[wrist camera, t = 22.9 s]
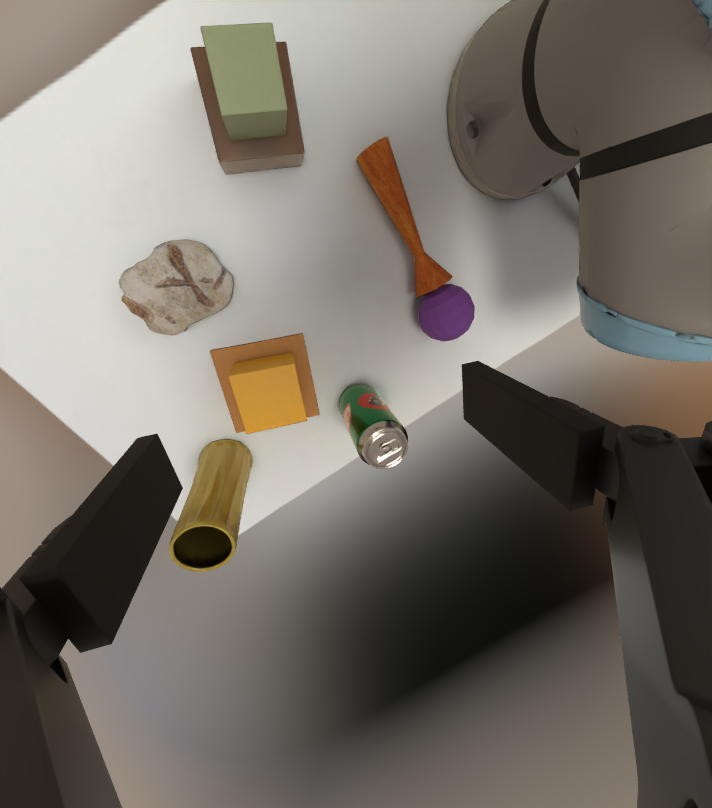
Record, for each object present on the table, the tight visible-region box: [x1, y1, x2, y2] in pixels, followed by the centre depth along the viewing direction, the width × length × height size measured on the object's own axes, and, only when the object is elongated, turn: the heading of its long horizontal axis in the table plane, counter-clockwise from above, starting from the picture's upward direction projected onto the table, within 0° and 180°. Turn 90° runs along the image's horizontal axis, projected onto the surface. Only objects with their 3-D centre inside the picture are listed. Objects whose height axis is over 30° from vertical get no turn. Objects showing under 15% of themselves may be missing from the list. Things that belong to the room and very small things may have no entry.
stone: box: [119, 240, 233, 335], centre depth 32 cm, size 10×7×3 cm
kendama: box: [357, 137, 475, 341], centre depth 35 cm, size 6×6×20 cm
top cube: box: [229, 352, 307, 434], centre depth 36 cm, size 6×6×5 cm
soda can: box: [339, 385, 408, 469], centre depth 37 cm, size 5×5×12 cm
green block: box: [201, 23, 287, 141], centre depth 24 cm, size 4×4×5 cm
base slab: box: [191, 42, 304, 174], centre depth 28 cm, size 7×7×4 cm
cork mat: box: [210, 334, 319, 433], centre depth 39 cm, size 10×10×1 cm
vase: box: [169, 440, 252, 572], centre depth 35 cm, size 6×6×14 cm
